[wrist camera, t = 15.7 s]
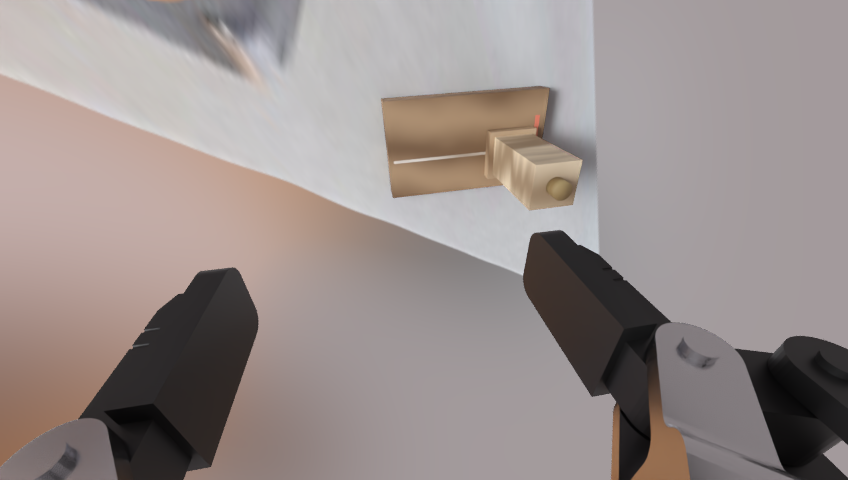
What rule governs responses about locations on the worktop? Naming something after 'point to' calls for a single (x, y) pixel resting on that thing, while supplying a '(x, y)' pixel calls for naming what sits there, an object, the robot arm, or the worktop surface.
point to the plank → (452, 136)
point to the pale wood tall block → (531, 167)
